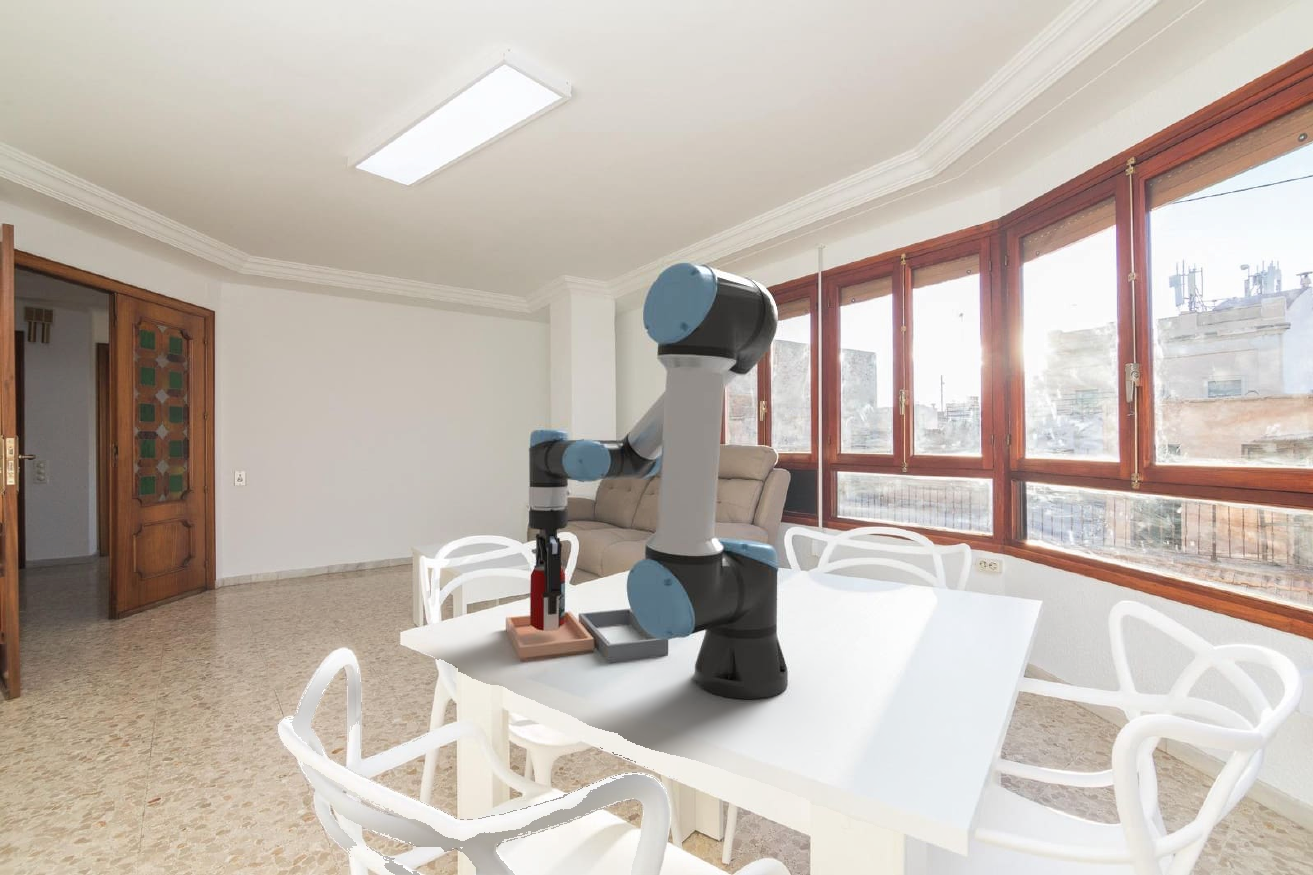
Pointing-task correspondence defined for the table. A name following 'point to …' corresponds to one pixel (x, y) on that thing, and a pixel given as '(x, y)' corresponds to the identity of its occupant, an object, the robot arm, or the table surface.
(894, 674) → the table surface
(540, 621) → the beverage can
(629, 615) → the grey bin
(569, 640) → the terracotta dish
